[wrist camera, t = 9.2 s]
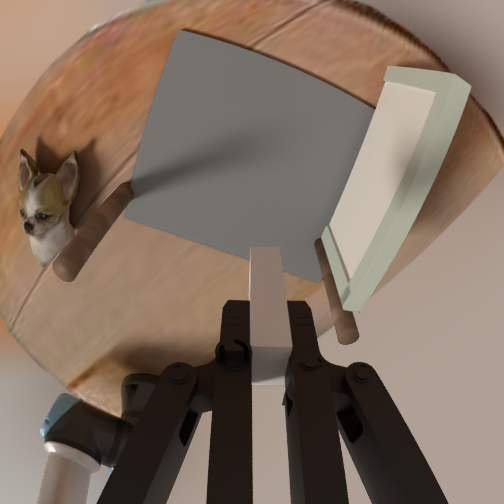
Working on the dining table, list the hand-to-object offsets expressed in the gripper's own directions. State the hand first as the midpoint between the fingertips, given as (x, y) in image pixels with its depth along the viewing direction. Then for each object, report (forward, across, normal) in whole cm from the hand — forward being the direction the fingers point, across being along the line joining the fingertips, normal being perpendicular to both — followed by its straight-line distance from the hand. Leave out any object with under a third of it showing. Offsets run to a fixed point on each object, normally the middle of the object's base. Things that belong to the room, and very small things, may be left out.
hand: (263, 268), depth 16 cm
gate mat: (+20, 0, -1) cm, 20 cm away
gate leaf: (+18, +12, +2) cm, 21 cm away
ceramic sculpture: (+21, -27, -4) cm, 34 cm away
